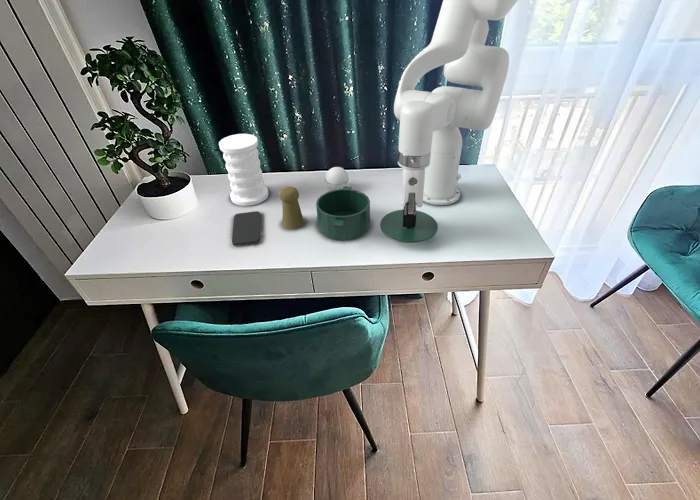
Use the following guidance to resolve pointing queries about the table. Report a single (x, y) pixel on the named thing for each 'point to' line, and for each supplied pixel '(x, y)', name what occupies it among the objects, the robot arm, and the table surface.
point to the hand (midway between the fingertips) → (408, 222)
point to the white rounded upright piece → (336, 178)
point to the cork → (291, 208)
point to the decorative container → (244, 169)
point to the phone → (246, 228)
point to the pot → (343, 214)
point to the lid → (419, 233)
